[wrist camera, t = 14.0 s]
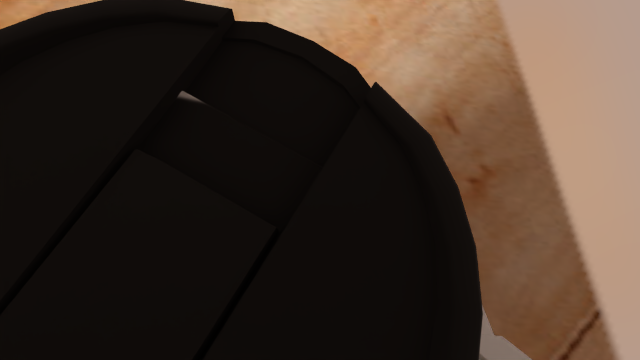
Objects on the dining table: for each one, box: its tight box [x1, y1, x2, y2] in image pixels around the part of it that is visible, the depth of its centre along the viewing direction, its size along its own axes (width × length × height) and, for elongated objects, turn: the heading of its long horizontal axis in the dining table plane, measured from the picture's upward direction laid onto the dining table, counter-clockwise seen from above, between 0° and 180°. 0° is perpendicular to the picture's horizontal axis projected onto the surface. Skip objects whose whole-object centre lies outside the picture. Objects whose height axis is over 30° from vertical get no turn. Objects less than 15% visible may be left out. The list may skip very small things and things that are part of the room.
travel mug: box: [0, 0, 483, 360], centre depth 13 cm, size 6×7×20 cm
